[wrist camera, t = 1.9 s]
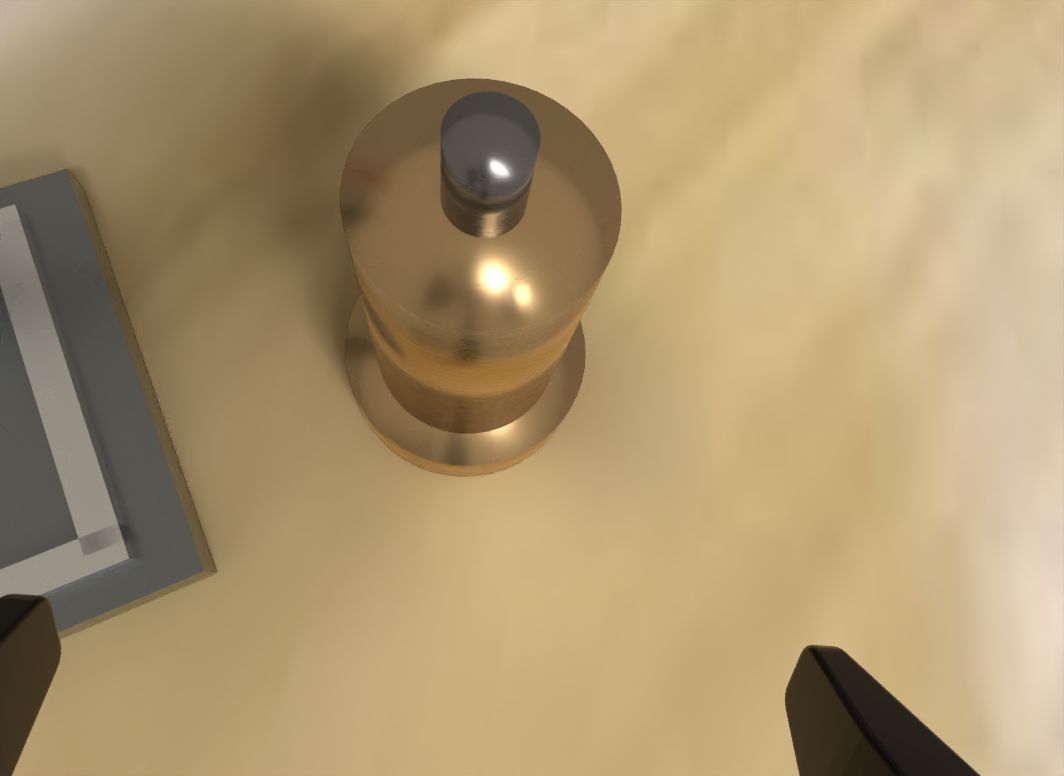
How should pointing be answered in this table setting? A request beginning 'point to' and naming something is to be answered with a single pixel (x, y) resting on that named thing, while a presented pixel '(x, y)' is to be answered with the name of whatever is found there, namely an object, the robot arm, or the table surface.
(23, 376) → the press bed
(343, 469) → the table surface
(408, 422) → the amber cylindrical piece
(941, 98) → the table surface
